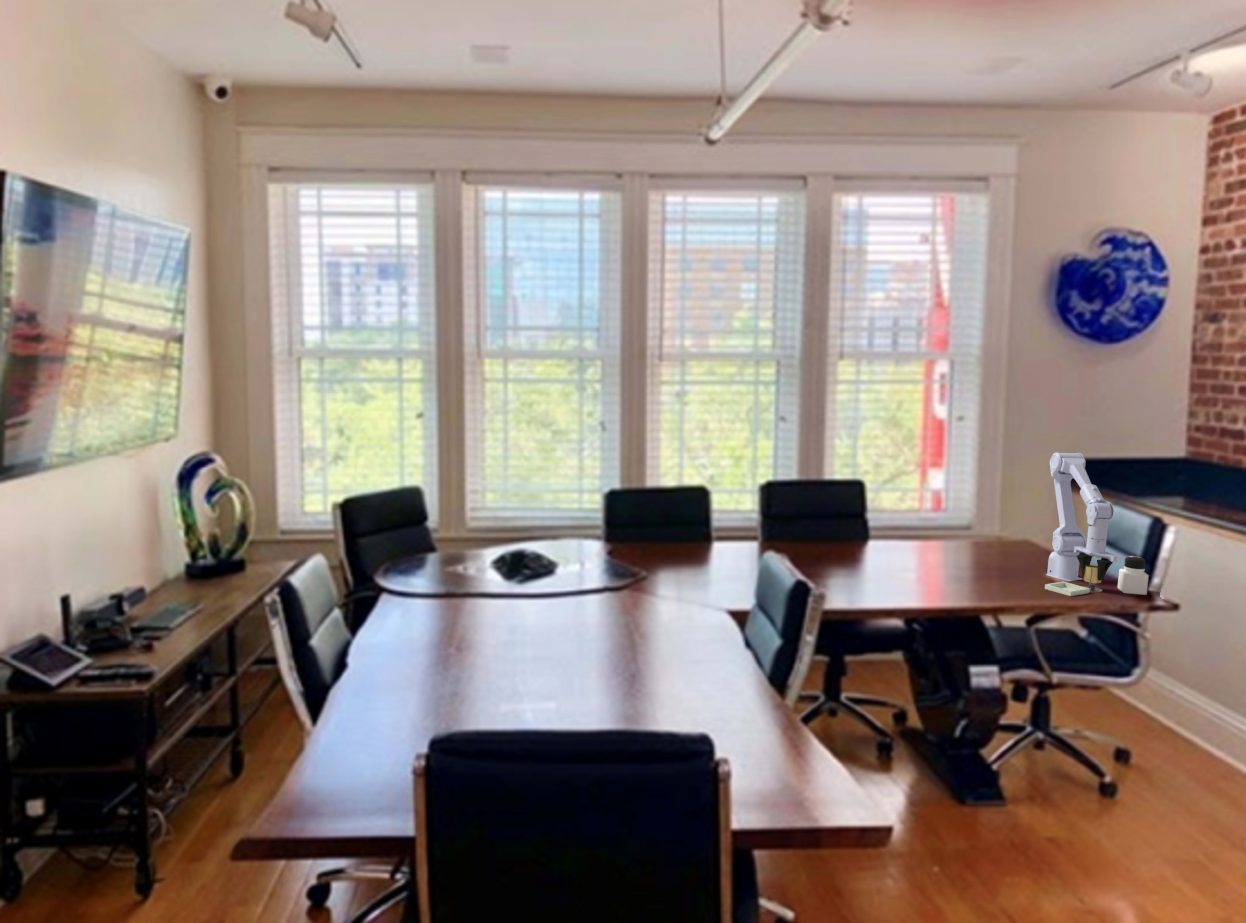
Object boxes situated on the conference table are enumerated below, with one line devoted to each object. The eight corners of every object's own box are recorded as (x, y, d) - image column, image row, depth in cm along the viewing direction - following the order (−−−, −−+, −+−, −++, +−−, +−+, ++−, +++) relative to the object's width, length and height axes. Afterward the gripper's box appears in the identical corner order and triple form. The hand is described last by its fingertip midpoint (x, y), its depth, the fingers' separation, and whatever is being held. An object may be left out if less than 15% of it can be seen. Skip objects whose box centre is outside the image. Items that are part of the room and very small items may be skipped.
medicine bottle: (1146, 596, 316) (1150, 560, 314) (1123, 594, 318) (1127, 559, 316) (1139, 590, 323) (1143, 555, 321) (1116, 589, 324) (1120, 554, 323)
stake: (1076, 589, 322) (1078, 571, 321) (1089, 587, 325) (1090, 570, 324) (1094, 594, 317) (1096, 576, 316) (1106, 592, 320) (1108, 574, 319)
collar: (1080, 580, 322) (1082, 565, 321) (1092, 578, 325) (1093, 563, 324) (1094, 583, 317) (1095, 569, 317) (1106, 581, 320) (1107, 567, 320)
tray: (1044, 590, 320) (1045, 584, 319) (1063, 587, 324) (1063, 581, 324) (1070, 597, 311) (1070, 591, 311) (1089, 594, 316) (1089, 588, 316)
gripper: (1069, 534, 323) (1065, 573, 325) (1109, 543, 310) (1105, 584, 312) (1083, 532, 326) (1079, 571, 328) (1123, 542, 314) (1118, 582, 316)
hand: (1092, 578), depth 321 cm, fingers closed on collar, 5 cm apart
